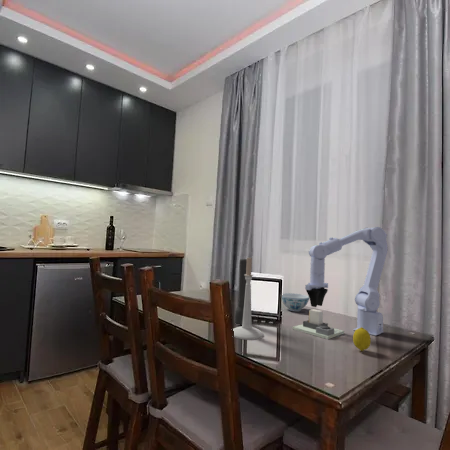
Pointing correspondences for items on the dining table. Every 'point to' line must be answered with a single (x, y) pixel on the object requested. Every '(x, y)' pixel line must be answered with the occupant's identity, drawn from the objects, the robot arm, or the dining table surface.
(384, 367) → the dining table surface
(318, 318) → the plug
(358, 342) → the lemon
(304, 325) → the board
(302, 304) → the chinaware
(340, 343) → the dining table surface
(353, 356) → the dining table surface
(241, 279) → the flashlight
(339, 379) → the dining table surface
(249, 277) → the candlestick
